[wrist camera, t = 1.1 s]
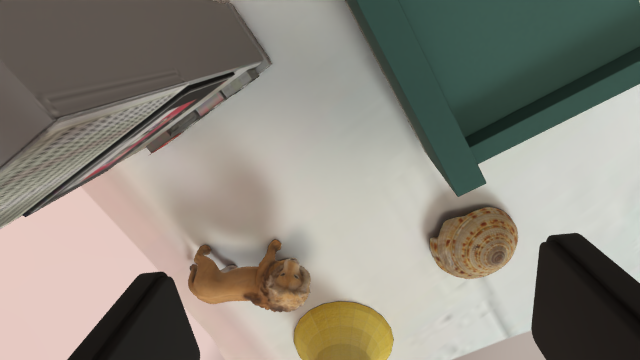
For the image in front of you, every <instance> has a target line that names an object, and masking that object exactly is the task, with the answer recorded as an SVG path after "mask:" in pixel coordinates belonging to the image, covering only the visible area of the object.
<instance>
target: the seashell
mask: <svg viewBox="0 0 640 360" xmlns="http://www.w3.org/2000/svg"><path fill="white" fill-rule="evenodd" d="M517 242H518V232H517V228H516V226H515V224H514V222H513V221H512V219H511V218H510V217H509V216H508V215H507V214H506V213H505V212H503V211H502V210H499V209H497V208H491V207H485V208H482V209H478V210H476V211H473V212H471V213H469V214H468V215H466V216H464V217H463V216H462V217H454V218H453V219H448V220H446V221H445V222H444V223H443V225H442V227H441V230H440V233H439V236H438V237H433V238H430V250H431V254H432V256H433V258H434V260H435V261H436V263H437V265H438V266H439V267H440V268H441V269H443V270H444V271H445V272H447V273H449V274H451V275H453V276H456V277H460V278H465V279H474V278H479V277H484V276H487V275H489V274H492V273H494V272H496V271H497V270H499V269H501V268H502V267H503V266H504V265H505V264H506V263H507V262H508V261H509V260H510V259H511V257H512V255H513V254H514V251H515V249H516V246H517Z"/></svg>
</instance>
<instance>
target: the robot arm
mask: <svg viewBox="0 0 640 360" xmlns="http://www.w3.org/2000/svg"><path fill="white" fill-rule="evenodd" d="M532 335H533V338H534V341H535V343H536V344H537V346H538V347H539V349H540V351H541V352H542V354H543V355H544V357H545V358H546V360H640V283H639V282H637V281H636V280H635V279H634V278H633V277H631V276H630V275H629V274H628V273H627V272H625V271H624V270H623V269H622V268H621V267H619V266H618V265H617V264H616V263H614V262H613V261H612V260H611V259H610V258H608V257H607V256H606V255H605V254H604V253H602V252H601V251H600V250H599V249H598V248H596V247H595V246H594V245H593V244H591V243H590V242H589V241H588V240H587V239H585V238H584V237H583V236H582V235H580V234H578V233H571V234H560V235H551V236H549V237H548V238H547V241H546V242H543V243H541V245H540V248H539V258H538V268H537V278H536V287H535V297H534V307H533V317H532ZM68 360H200V351H199V347H198V345H197V342H196V339H195V337H194V334H193V331H192V328H191V326H190V324H189V320H188V318H187V315H186V313H185V310H184V307H183V304H182V302H181V299H180V296H179V294H178V291H177V288H176V285H175V283H174V280H173V279H172V278H171V277H168V276H167V274H166V273H164V272H153V273H143V274H140V275H139V276H137V278H136V279H135V280H134V281H133V282H132V283H131V285H130V286H129V287H128V288H127V290H126V291H125V292H124V293H123V294H122V295H121V297H120V298H119V299H118V300H117V301H116V303H115V304H114V305H113V306H112V307H111V308H110V310H109V311H108V312H107V313H106V314H105V315H104V317H103V318H102V319H101V320H100V321H99V323H98V324H97V325H96V326H95V327H94V329H93V330H92V331H91V332H90V333H89V334H88V336H87V337H86V338H85V339H84V340H83V342H82V343H81V344H80V345H79V346H78V348H77V349H76V350H75V351H74V352H73V353H72V355H71V356H70V357H69V358H68Z"/></svg>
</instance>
